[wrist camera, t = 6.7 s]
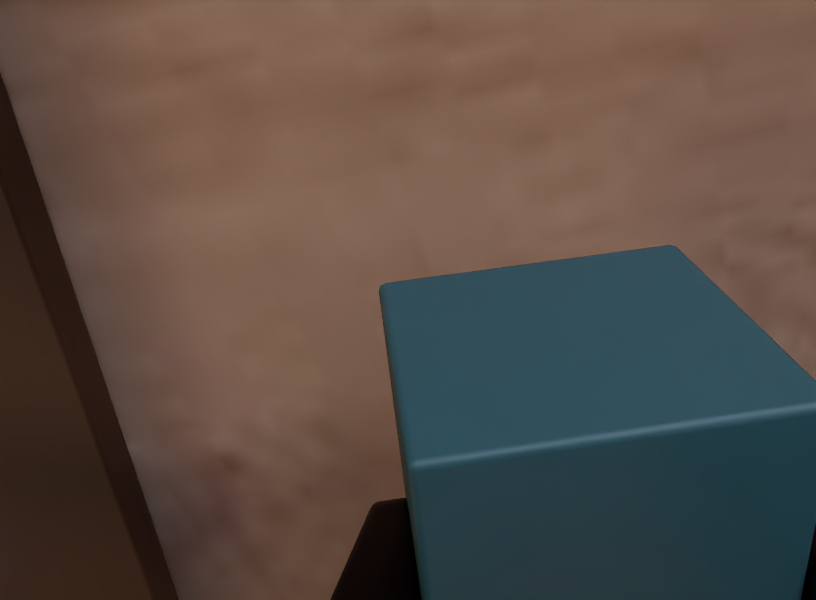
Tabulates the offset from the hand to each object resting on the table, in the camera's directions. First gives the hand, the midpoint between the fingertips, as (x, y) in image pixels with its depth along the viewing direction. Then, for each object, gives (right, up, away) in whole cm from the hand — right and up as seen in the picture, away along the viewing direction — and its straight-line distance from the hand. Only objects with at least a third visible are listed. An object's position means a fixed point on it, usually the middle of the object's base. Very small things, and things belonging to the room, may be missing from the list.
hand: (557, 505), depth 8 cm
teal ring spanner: (0, -4, +3) cm, 5 cm away
